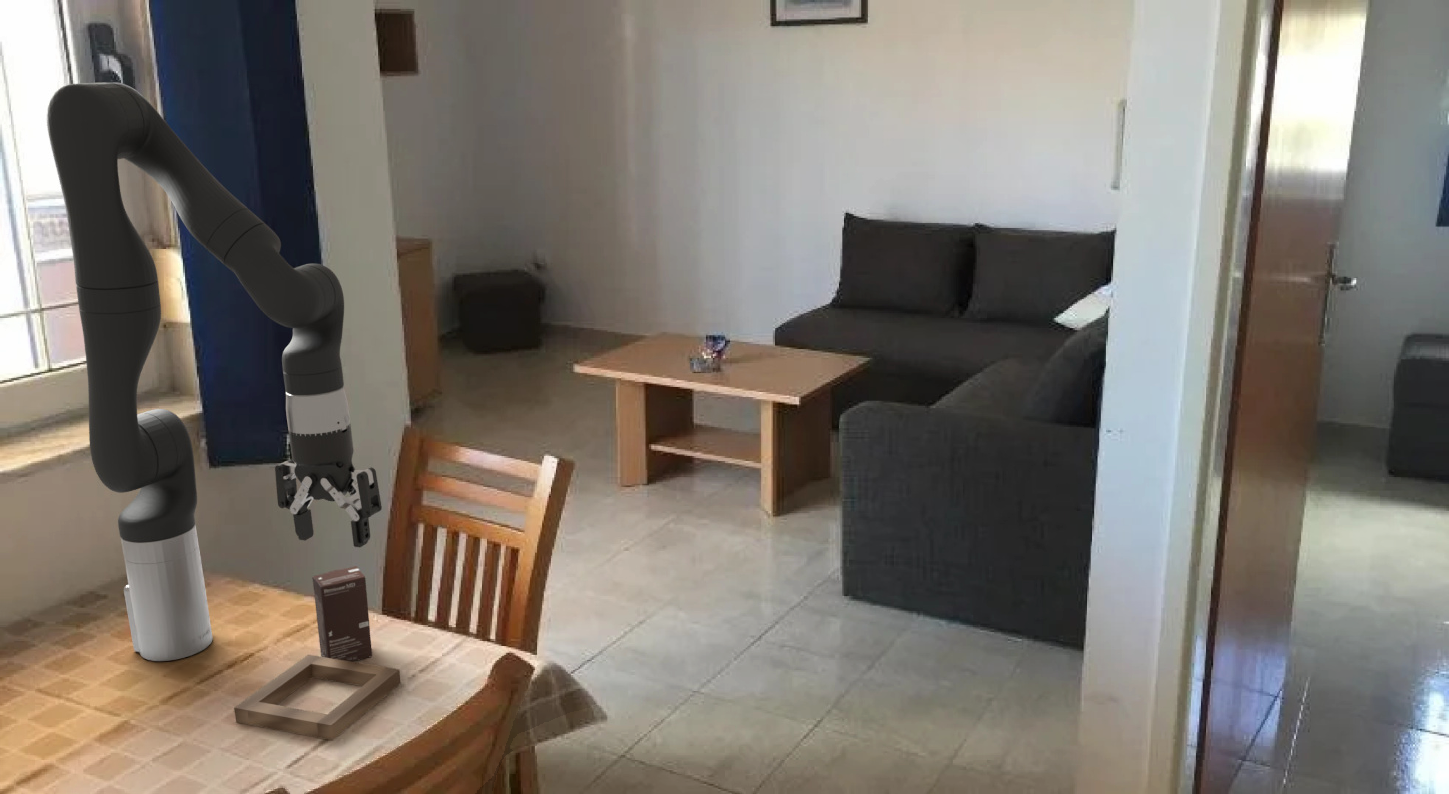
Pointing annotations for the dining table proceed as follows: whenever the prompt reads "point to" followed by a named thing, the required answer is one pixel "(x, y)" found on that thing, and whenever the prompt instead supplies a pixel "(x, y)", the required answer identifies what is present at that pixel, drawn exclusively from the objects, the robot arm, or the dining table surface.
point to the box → (342, 614)
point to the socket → (327, 726)
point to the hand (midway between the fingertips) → (333, 541)
